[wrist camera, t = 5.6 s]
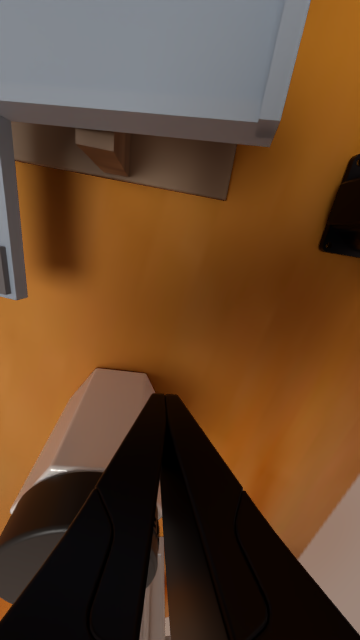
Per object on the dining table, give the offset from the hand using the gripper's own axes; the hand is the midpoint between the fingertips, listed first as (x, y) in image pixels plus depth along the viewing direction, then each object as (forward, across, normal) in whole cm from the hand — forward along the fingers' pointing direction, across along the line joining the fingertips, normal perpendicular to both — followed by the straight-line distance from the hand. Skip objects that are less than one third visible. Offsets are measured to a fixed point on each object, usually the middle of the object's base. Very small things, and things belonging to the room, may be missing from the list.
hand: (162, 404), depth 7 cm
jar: (+12, +3, +11) cm, 17 cm away
